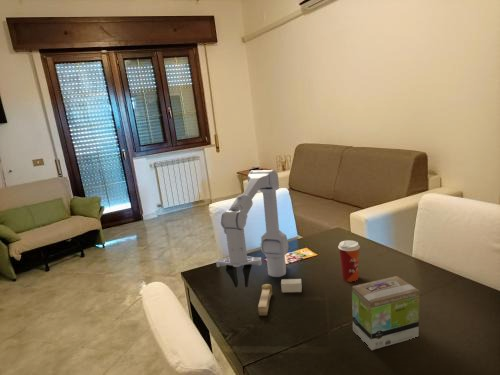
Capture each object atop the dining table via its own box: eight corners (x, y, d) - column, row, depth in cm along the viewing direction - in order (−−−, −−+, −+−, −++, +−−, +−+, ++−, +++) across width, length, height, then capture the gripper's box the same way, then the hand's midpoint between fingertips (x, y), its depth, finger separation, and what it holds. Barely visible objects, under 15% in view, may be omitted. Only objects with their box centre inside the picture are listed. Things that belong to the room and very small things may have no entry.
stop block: (282, 288, 133) (281, 279, 132) (301, 287, 132) (301, 278, 131) (281, 292, 130) (281, 283, 129) (301, 292, 129) (300, 283, 128)
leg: (263, 292, 131) (262, 284, 131) (273, 291, 131) (272, 283, 130) (257, 315, 117) (256, 306, 117) (268, 315, 117) (267, 306, 116)
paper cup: (356, 285, 131) (354, 248, 128) (336, 280, 136) (334, 245, 133) (364, 276, 137) (363, 241, 134) (345, 272, 142) (343, 238, 139)
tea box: (372, 352, 97) (370, 302, 93) (352, 331, 106) (349, 285, 103) (420, 338, 100) (420, 289, 97) (396, 318, 110) (395, 273, 106)
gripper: (211, 252, 113) (217, 292, 116) (257, 250, 111) (262, 291, 114) (217, 244, 120) (222, 281, 123) (260, 242, 118) (264, 280, 121)
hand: (241, 285), depth 119 cm, fingers open, 3 cm apart
